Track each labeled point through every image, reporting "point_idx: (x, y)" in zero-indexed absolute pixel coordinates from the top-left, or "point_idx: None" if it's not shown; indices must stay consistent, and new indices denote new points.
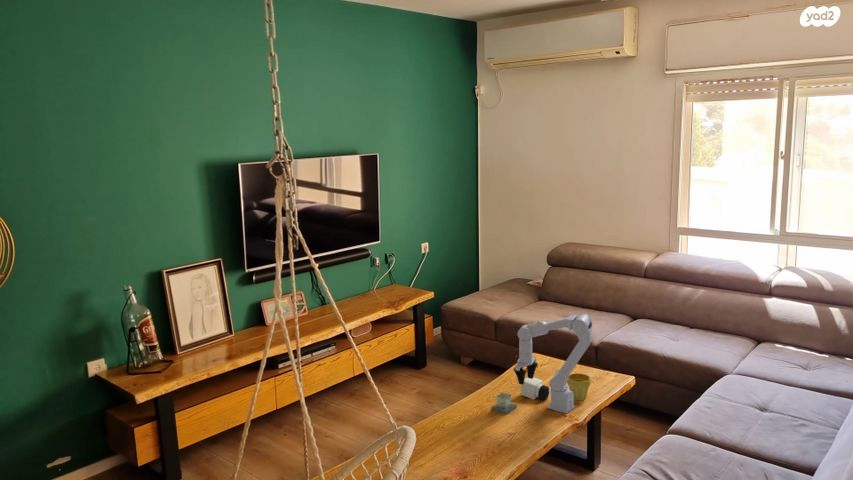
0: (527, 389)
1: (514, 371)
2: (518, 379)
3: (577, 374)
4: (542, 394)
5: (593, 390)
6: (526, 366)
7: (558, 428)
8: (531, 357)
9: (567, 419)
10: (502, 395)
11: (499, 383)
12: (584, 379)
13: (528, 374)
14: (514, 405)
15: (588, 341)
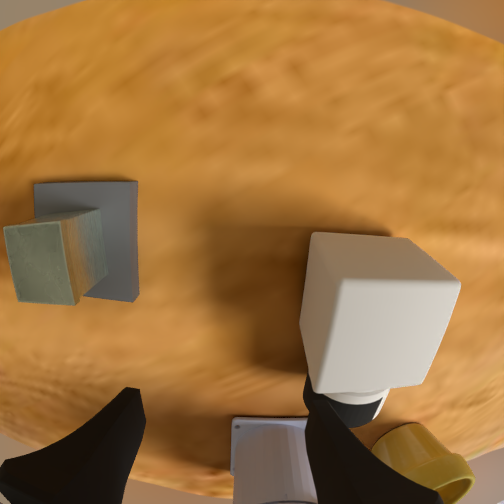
0: (314, 310)
1: (16, 459)
2: (104, 415)
3: (468, 479)
4: (305, 399)
5: (462, 435)
6: (353, 489)
7: None
8: None
9: (193, 481)
10: (30, 256)
11: (406, 24)
12: (452, 482)
13: (320, 430)
14: (121, 292)
15: None
